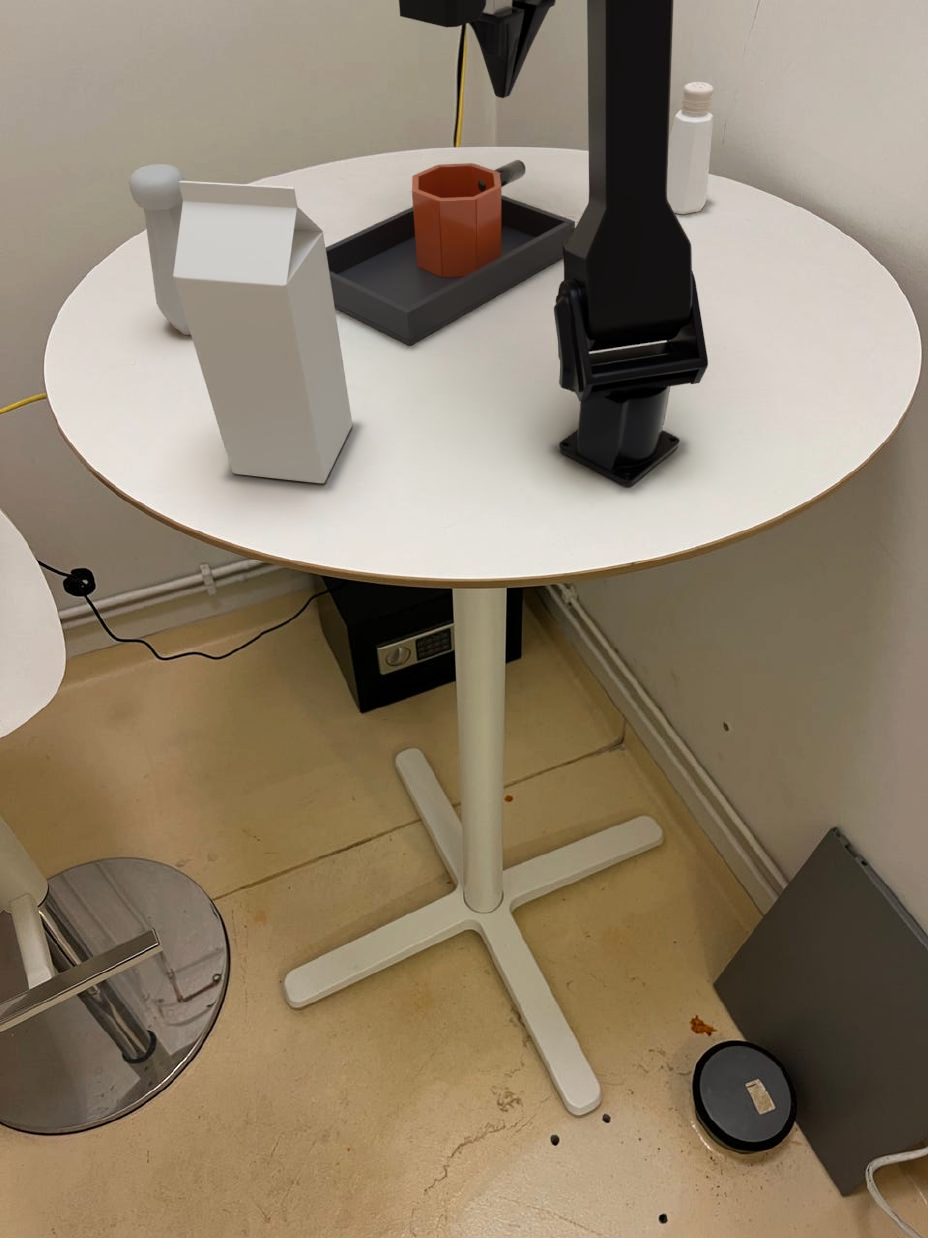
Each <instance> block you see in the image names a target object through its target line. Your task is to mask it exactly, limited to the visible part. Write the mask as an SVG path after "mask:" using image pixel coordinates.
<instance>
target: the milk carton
mask: <svg viewBox="0 0 928 1238" xmlns="http://www.w3.org/2000/svg"><path fill="white" fill-rule="evenodd" d="M178 184H179V187H180V191H181V195H182V198H183V202H182V203H183V205H182V213H181V220H180V228H179V235H178V243H177V250H176V258H175V265H174V273H173V277H174V279H175V283H176V286H177V289H178V293H179V296H180V299H181V303H182V306H183V309H184V313H185V316H186V319H187V323H188V326H189V330H190V333H191V335H190V336H191V340H192V342H193V346H194V349H195V352H196V356H197V359H198V363H199V366H200V370H201V373H202V377H203V379H204V380H203V381H204V383H205V386H206V391H207V393H208V396H209V400H210V403H211V407H212V411H213V413H214V417H215V421H216V424H217V426H218V430H219V433H220V436H221V440H222V443H223V447H224V450H225V454H226V457H227V461H228V463H229V467H230V470H231V472H232V473H233V474H236V475H242V476H243V475H244V476H252V477H261V478H270V479H278V480H288V481H296V482H305V483H315V484H325V482H326V481H327V479H328V476H329V474H330V472H331V471H332V468H333V466H334V464H335V462H336V460H337V458H338V456H339V453H340V451H341V450H342V447H343V446H344V443H345V442H346V440H347V436H349V433H350V431H351V429H352V426H353V419H352V411H351V405H350V398H349V393H348V386H347V377H346V373H345V367H344V360H343V353H342V346H341V341H340V335H339V334H340V333H339V326H338V320H337V314H336V308H335V307H334V300H333V294H332V287H331V281H330V274H329V268H328V261H327V254H326V243H325V237H324V231H323V229H322V228H321V227H320V226H319V225H318V224H317V223H316V222H315V221H313V220H312V219H311V217H309V216H308V215H307V214H306V213H305V212H304V211H303V210H302V209H301V208H300V207H299V206H298V202H297V201H298V200H297V197H296V190H295V187H293V186H280V185H265V184H264V185H263V184H244V183H230V182H229V183H228V182H227V183H226V182H212V181H211V182H210V181H192V180H190V181H189V180H185V181H179V182H178Z"/></svg>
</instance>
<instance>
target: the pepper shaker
mask: <svg viewBox="0 0 928 1238" xmlns="http://www.w3.org/2000/svg"><path fill="white" fill-rule="evenodd" d="M682 90H683V97H682V101H681V104H682V106H681V109H680V110H679V111H678V112H677V113H676V114H675V116H674V118H673V122H672V125H671V130H670V133H669V144H668V173H667V200H668V202H669V204H670V206H671V208H672V210H673V212H674V213H675V214H678V215H687V214H691V213H692V214H693V213H697V212H700V211H702V209H703V207H704V206H705V204H706V203H707V197H708V184H709V172H710V163H711V160H710V159H711V148H712V137H713V127H714V115H713V114H712V113H711V112H709V111H710V105H711V100H712V95H713V93H714V87H713V85H711V84H710V83H708V82H705V81H692V82H688V83H686V84H685V85H684V86H683V89H682Z"/></svg>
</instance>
